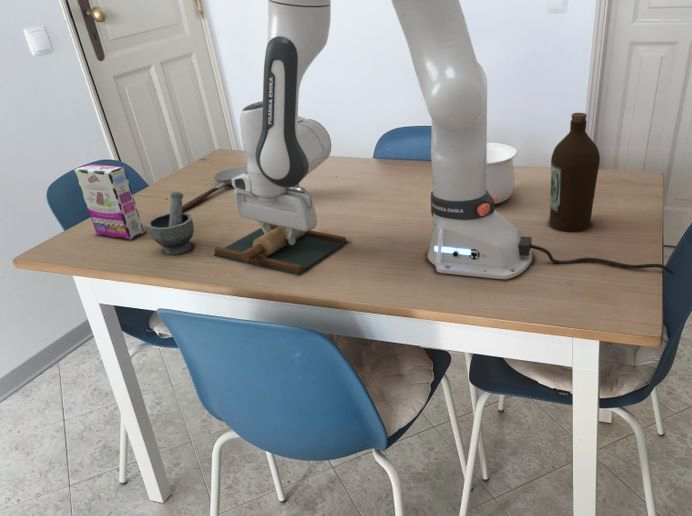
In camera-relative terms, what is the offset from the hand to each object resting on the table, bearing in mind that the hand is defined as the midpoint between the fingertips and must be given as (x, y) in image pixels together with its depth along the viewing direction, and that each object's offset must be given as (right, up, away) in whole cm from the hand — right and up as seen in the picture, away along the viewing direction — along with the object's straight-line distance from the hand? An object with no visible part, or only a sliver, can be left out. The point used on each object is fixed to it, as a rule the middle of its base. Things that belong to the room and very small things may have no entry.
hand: (280, 241), depth 142 cm
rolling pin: (0, -2, +1) cm, 2 cm away
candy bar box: (-42, +4, +12) cm, 44 cm away
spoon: (-28, +18, +33) cm, 47 cm away
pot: (+47, +15, +23) cm, 54 cm away
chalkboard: (0, -2, +1) cm, 2 cm away
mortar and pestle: (-25, -1, +4) cm, 25 cm away
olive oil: (+67, +5, +7) cm, 67 cm away
